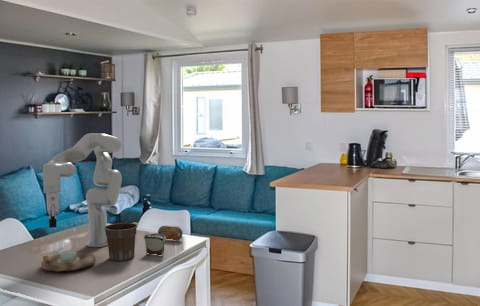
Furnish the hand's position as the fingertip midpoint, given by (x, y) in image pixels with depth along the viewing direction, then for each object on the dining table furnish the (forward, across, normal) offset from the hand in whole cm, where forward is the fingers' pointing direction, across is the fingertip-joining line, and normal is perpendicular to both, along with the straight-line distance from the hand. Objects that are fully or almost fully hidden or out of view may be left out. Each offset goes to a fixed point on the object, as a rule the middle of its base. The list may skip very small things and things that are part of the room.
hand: (52, 227), depth 221 cm
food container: (+17, -6, -50) cm, 53 cm away
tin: (+17, +17, -63) cm, 67 cm away
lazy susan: (+16, -6, -7) cm, 19 cm away
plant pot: (+18, -4, -32) cm, 37 cm away
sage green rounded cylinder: (+15, -8, -6) cm, 18 cm away
